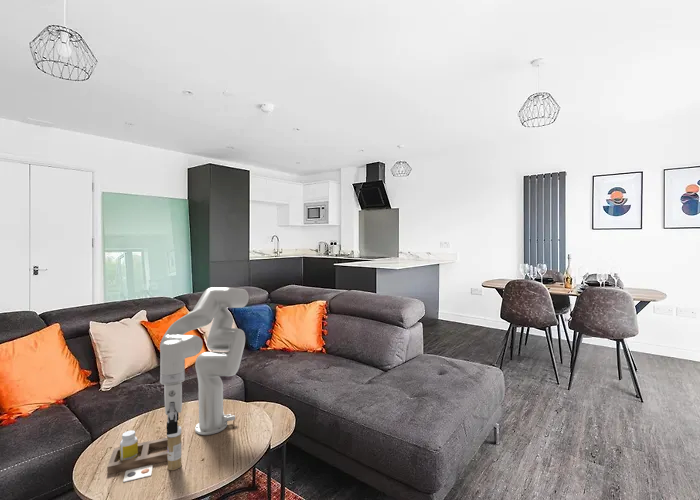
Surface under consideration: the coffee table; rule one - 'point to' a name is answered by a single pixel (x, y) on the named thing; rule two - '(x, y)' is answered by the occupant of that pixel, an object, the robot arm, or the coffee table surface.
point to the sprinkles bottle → (174, 450)
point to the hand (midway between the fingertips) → (172, 427)
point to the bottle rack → (139, 461)
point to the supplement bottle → (128, 446)
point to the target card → (138, 473)
